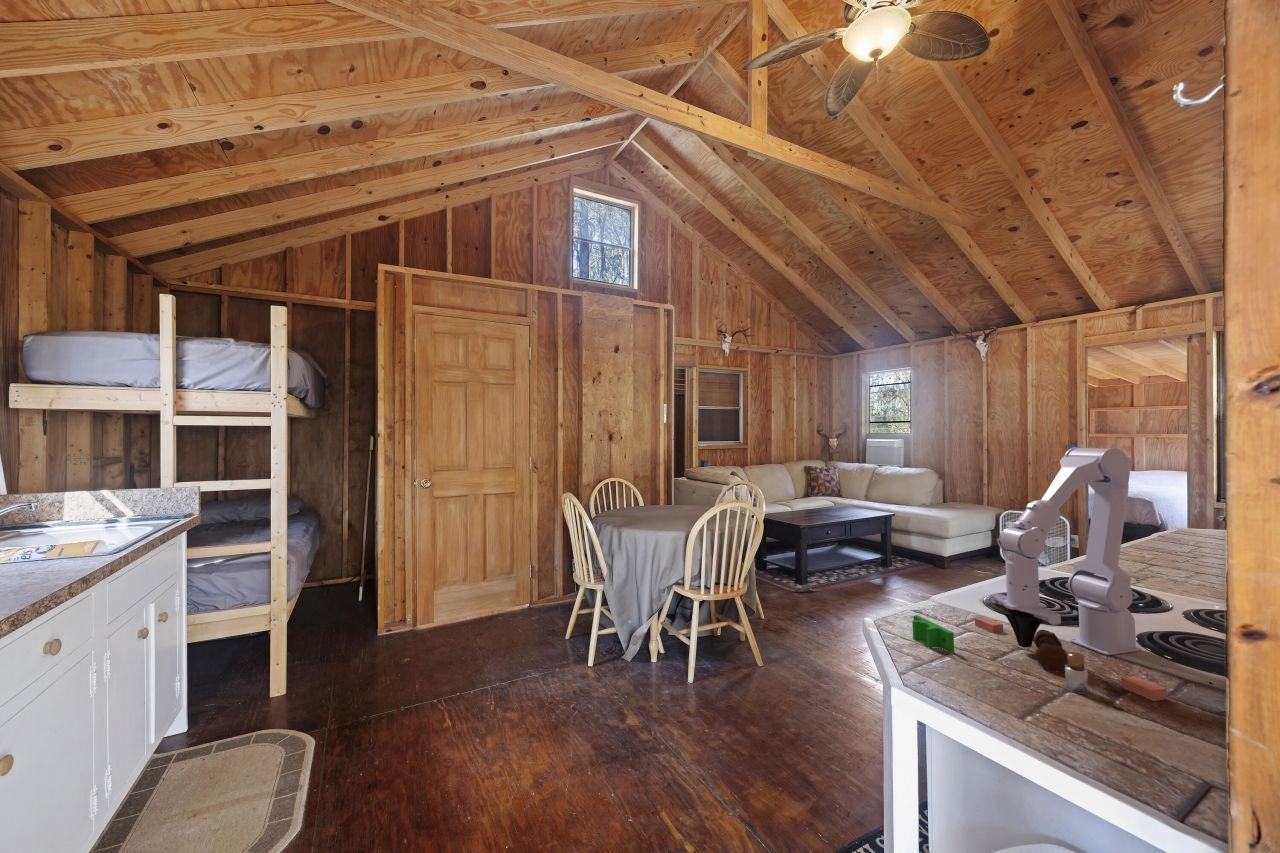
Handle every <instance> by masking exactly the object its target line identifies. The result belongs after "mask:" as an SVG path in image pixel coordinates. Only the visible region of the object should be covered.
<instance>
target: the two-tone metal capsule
mask: <svg viewBox="0 0 1280 853" xmlns="http://www.w3.org/2000/svg"><path fill="white" fill-rule="evenodd" d="M1066 654H1067V664H1066V665H1065V671H1064V677H1065V678H1064V679H1065V683H1064V684H1065V688H1066V689H1067V690H1068V691H1070V692H1072V693H1074V694H1075V693H1076V694H1079V695H1087V694H1089V680H1088V679H1089V678H1088V669H1087V668H1086V667H1085V655H1083V654H1081V653H1079V652H1077V651H1068V652H1066Z"/></svg>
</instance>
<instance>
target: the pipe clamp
mask: <svg viewBox="0 0 1280 853" xmlns="http://www.w3.org/2000/svg"><path fill="white" fill-rule="evenodd" d="M954 638H955V637H954V632H953V631H950V630H949V629H947V628H945V627H942V626H940V625H939V624H937V623H934V622H932V621H931V620H928V619H927V618H925V617H922V616H921V615H918V614H915V615H913V620H912V639H913V640H914V641H915V642H917V641H920V642H924V643H926V648H928V647H929V648H928V649H933V648H932V647H938V648H940V647H941V648H940V649H942V648H943V649H942V650H944V649H945V650H947V651H948V652H947V651H946V652H947V653H949V652H953V653H955V643H954V642H955V640H954ZM945 650H944V651H945Z"/></svg>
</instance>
